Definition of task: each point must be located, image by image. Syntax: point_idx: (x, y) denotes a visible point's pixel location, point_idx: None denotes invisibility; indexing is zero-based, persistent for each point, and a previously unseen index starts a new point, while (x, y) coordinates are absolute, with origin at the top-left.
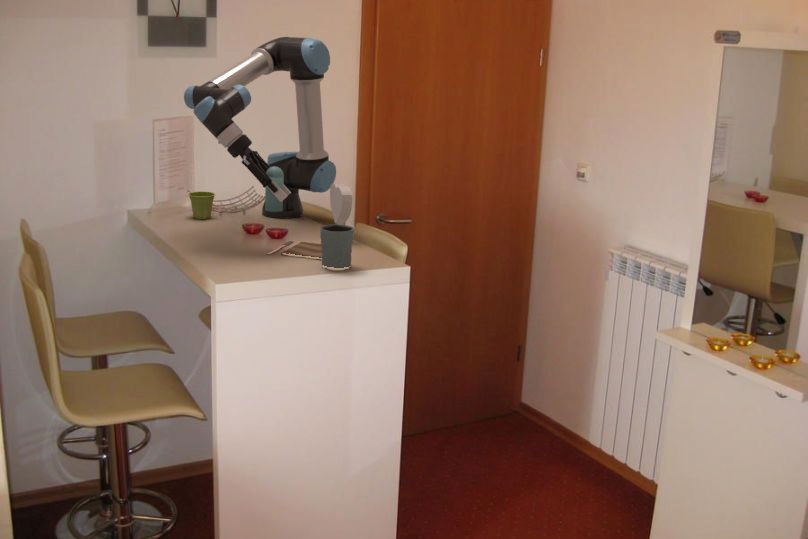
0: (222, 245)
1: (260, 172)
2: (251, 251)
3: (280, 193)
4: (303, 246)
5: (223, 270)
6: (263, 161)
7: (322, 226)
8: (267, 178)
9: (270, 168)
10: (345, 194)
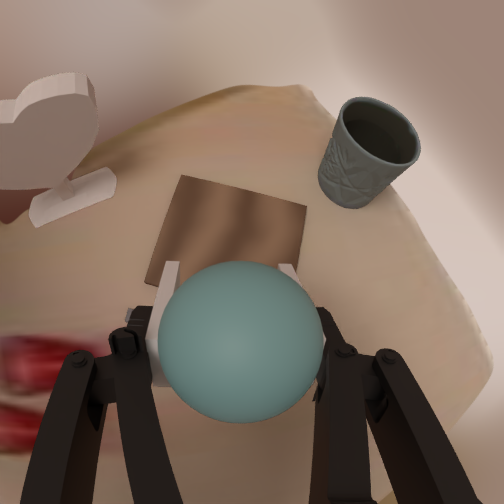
0: (217, 493)
1: (429, 415)
2: None
3: None
4: (199, 269)
5: (436, 403)
6: (63, 491)
7: (382, 160)
8: (397, 360)
9: (288, 378)
10: (85, 87)
